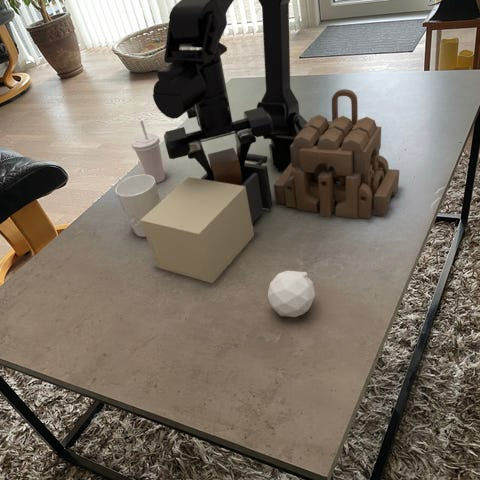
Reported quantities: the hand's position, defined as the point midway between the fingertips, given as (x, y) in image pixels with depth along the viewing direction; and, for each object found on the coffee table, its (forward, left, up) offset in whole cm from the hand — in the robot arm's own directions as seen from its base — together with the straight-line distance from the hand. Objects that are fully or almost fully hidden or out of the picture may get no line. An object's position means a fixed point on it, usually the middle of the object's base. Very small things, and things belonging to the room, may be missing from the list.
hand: (226, 176), depth 91 cm
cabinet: (+7, +8, -9) cm, 15 cm away
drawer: (-1, 0, -9) cm, 9 cm away
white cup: (+17, -5, -10) cm, 20 cm away
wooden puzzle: (-21, +1, -10) cm, 23 cm away
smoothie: (+14, -25, -10) cm, 30 cm away
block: (0, 0, -1) cm, 1 cm away
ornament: (-4, +29, -10) cm, 31 cm away
